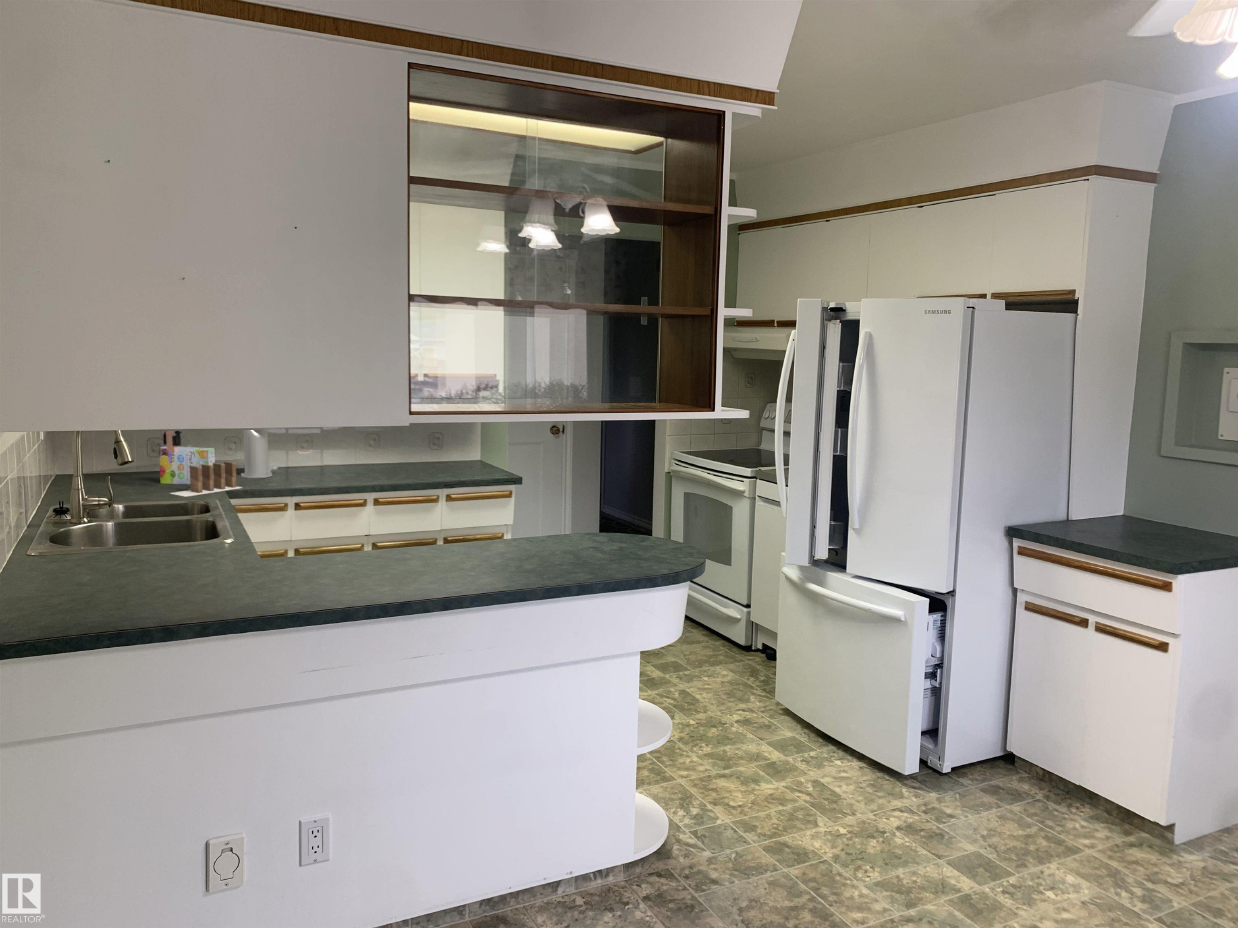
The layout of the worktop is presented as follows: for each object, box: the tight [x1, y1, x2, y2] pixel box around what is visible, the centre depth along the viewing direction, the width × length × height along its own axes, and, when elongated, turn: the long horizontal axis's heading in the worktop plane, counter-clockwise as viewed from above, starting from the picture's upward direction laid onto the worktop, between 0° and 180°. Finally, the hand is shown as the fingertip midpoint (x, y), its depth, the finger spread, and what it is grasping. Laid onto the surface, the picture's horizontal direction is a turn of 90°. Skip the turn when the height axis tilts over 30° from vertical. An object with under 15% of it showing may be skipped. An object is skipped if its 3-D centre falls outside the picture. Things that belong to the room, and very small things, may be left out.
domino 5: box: [223, 461, 237, 488], centre depth 355 cm, size 2×5×10 cm, turn 60°
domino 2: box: [189, 466, 203, 493], centre depth 342 cm, size 2×5×10 cm, turn 60°
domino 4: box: [213, 462, 225, 489], centre depth 351 cm, size 2×5×10 cm, turn 60°
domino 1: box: [165, 431, 179, 452], centre depth 346 cm, size 2×5×10 cm, turn 60°
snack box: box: [158, 445, 216, 485], centre depth 360 cm, size 21×6×15 cm, turn 84°
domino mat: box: [169, 485, 243, 498], centre depth 347 cm, size 25×10×1 cm, turn 150°
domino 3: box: [201, 464, 214, 491], centre depth 347 cm, size 2×5×10 cm, turn 60°
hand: (172, 444), depth 346 cm, fingers closed on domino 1, 4 cm apart
